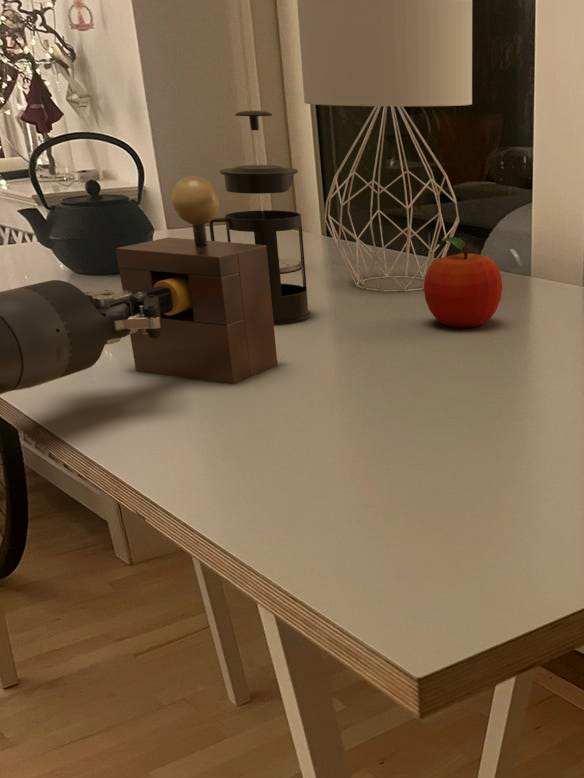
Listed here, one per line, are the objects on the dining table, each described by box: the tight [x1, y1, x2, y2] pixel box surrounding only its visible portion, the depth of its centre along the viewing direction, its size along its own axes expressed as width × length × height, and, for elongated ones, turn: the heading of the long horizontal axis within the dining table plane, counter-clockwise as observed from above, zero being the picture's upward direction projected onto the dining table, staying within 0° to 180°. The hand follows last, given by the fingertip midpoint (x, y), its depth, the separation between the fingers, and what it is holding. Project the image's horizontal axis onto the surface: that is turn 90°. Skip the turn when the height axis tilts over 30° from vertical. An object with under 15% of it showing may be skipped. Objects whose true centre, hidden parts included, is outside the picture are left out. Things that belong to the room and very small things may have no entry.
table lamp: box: [296, 0, 473, 292], centre depth 134 cm, size 22×22×40 cm
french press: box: [208, 110, 311, 326], centre depth 118 cm, size 12×9×23 cm
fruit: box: [423, 236, 503, 329], centre depth 119 cm, size 10×10×10 cm
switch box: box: [115, 175, 278, 385], centre depth 98 cm, size 8×12×18 cm, turn 67°
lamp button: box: [154, 276, 193, 315], centre depth 96 cm, size 3×3×3 cm
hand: (165, 298), depth 95 cm, fingers closed
